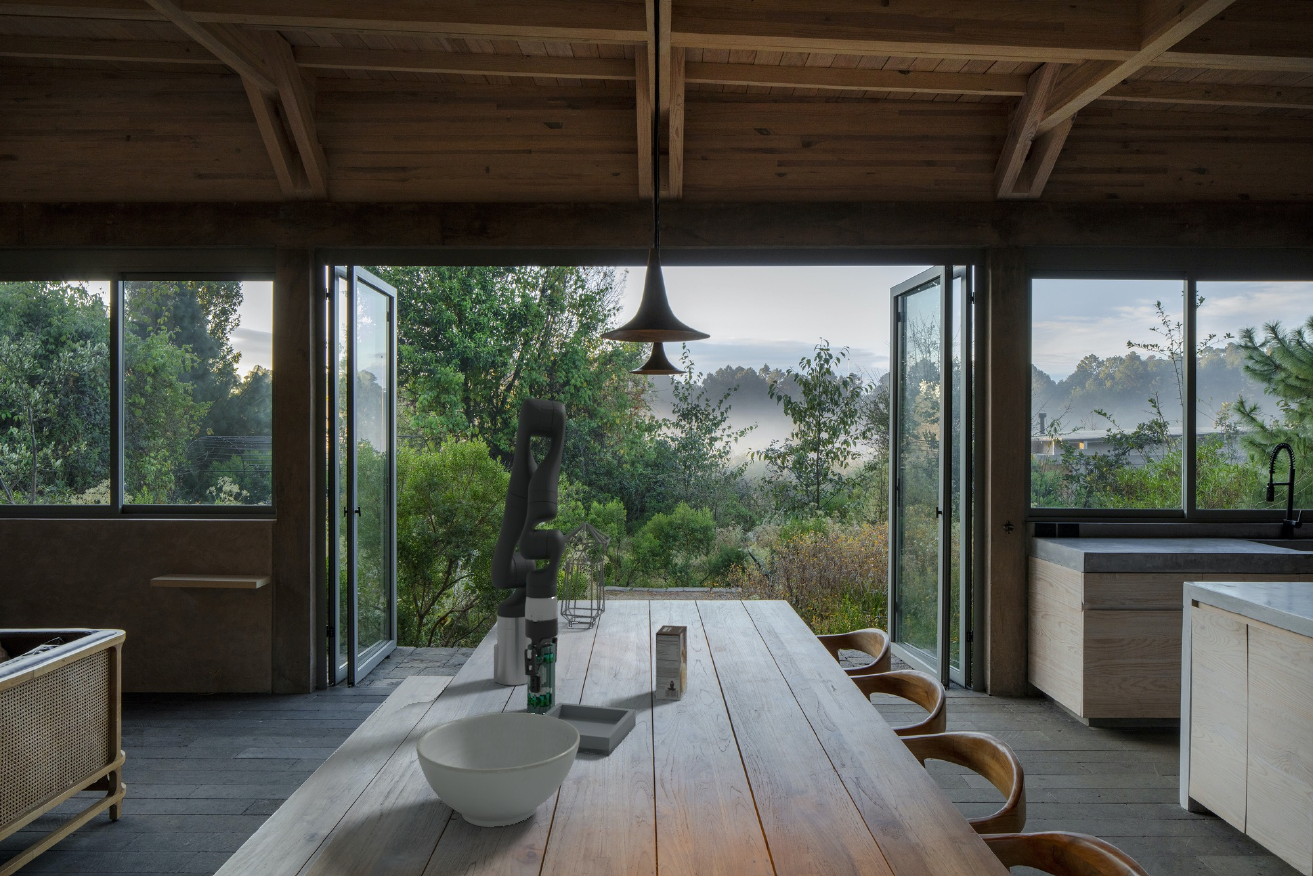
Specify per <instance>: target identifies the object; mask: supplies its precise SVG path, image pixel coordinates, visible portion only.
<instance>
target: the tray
mask: <svg viewBox="0 0 1313 876" xmlns="http://www.w3.org/2000/svg"><path fill="white" fill-rule="evenodd" d="M636 710H637V709H633V708H621V707H611V706H601V705H590V704H582V703H581V704H579V703H568V702H558V703H555V706H554V707H553V708H551V709H550V710H549V711H548V712H546V713H545V714H543V715H546V716H550V717H554V718H558V719H561V720H563V721H566V722H568V723H569V724H571V725H573V726H574V727H575V728H576V729H577V730H578V732H579V735H580V742H579V747H578V750H577V753H582V754H590V755H592V754H593V755H599V754H602V755H601V756H608V755H610V756H611V755H612V753H613V752H614V751H615V750H616V749H617V747H619V745H620V744H621V743H622V742H623V741H624V740H625V738H626V737H628V735H629V734H630V733H631V732H632V730H634V729H635V728H636V725H637V723H636V721H637V720H636V718H637V711H636ZM629 732H630V733H629ZM622 740H623V741H622ZM615 748H616V749H615Z"/></svg>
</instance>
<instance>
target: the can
mask: <svg viewBox="0 0 1313 876" xmlns="http://www.w3.org/2000/svg"><path fill="white" fill-rule="evenodd" d="M551 644H552V645H551V647H545V648H544V647H543V648H541V657H543V655H544V666H542V668H541V674H540V692H539V693H532V692H531V691H530V676H529V675H527V683H526V684H527V685H526V688H527V691H526V698H527V699H526V700H527V701H526V703H527V704H526V708H527V709H526V711H527V712H528V711H529V712H528V713H535V714H540V715H542V714H543V713H546V712H548V711H549V710H550V709H551V708H553V707H554V706H555V705H556V663H555V644H554V643H551ZM530 647H531V644H529V645H528V649H530ZM536 653H537V652H536ZM541 657H539V656H538V655H537V662H540V661H541ZM529 668H530V666H529ZM537 668H538V666H537ZM543 715H544V714H543Z"/></svg>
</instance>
